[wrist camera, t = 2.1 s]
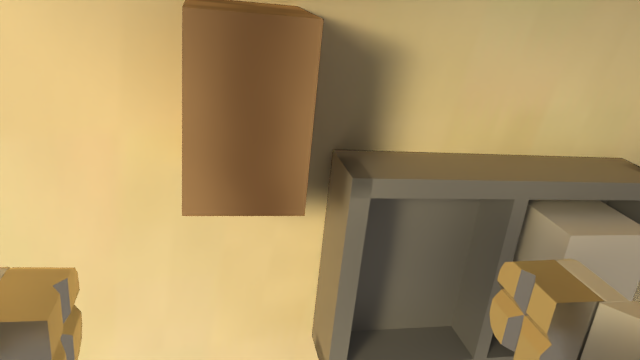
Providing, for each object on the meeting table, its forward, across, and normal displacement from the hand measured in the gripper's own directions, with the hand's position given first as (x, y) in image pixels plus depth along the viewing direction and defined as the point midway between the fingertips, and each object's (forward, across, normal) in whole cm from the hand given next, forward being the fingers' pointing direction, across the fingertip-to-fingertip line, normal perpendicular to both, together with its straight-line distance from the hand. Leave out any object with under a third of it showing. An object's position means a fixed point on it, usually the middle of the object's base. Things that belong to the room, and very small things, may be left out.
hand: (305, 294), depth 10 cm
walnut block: (+17, 0, 0) cm, 17 cm away
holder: (+17, -14, +9) cm, 24 cm away
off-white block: (+16, -18, +9) cm, 26 cm away
